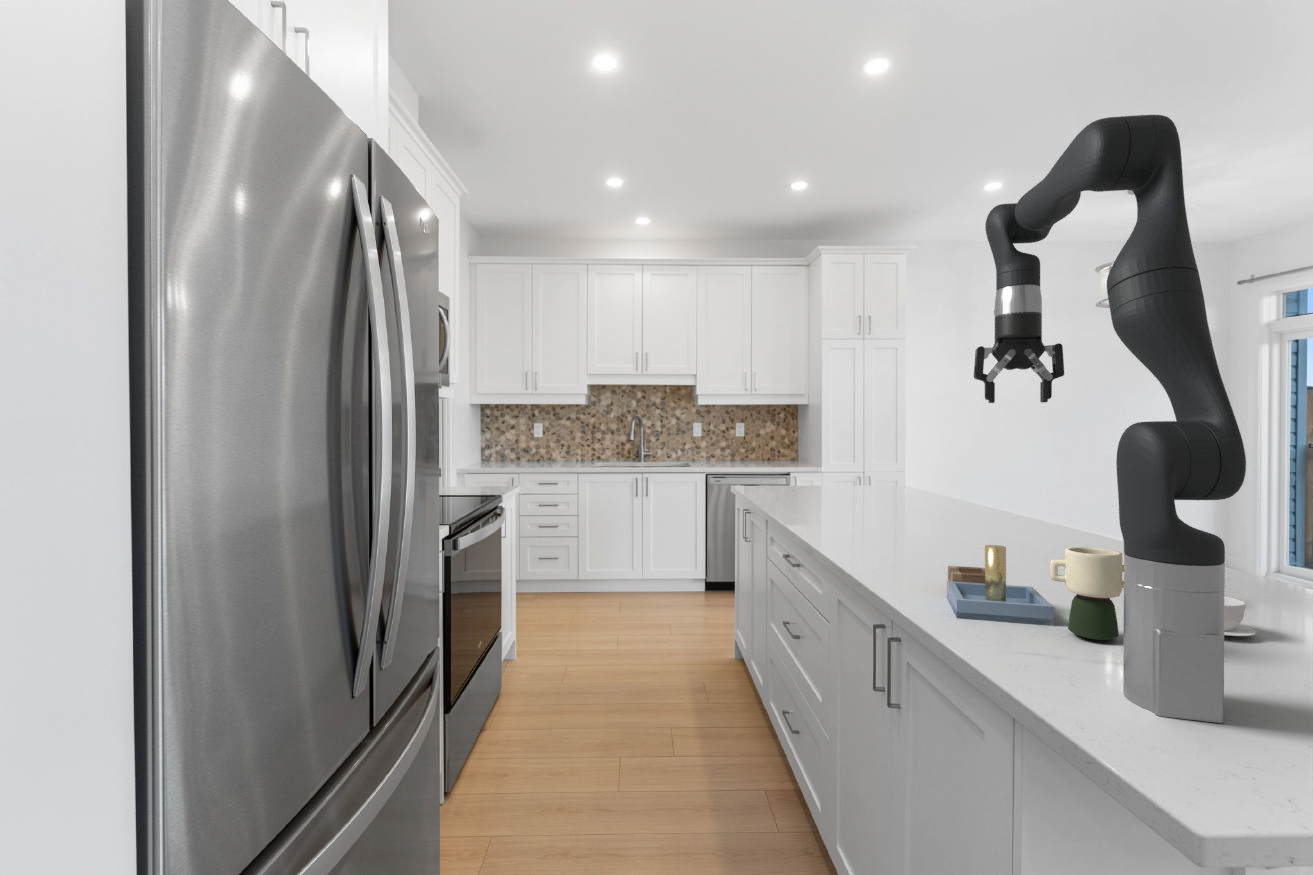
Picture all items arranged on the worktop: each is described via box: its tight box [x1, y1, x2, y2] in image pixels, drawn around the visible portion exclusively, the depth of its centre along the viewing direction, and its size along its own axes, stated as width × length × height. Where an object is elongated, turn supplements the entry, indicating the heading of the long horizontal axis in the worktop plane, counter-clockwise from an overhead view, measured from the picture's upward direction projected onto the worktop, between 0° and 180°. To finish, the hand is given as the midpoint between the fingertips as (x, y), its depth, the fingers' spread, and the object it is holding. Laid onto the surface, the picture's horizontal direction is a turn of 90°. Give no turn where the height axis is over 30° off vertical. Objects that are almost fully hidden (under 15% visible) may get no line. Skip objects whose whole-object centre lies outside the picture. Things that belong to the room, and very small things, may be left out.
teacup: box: [1224, 595, 1258, 637], centre depth 101 cm, size 10×10×5 cm
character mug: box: [1049, 546, 1124, 641], centre depth 96 cm, size 11×7×13 cm, turn 59°
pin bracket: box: [947, 565, 985, 584], centre depth 124 cm, size 8×8×4 cm
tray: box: [946, 580, 1054, 627], centre depth 111 cm, size 14×14×3 cm
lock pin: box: [984, 544, 1007, 602], centre depth 111 cm, size 3×3×10 cm
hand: (1017, 402), depth 118 cm, fingers open, 8 cm apart
